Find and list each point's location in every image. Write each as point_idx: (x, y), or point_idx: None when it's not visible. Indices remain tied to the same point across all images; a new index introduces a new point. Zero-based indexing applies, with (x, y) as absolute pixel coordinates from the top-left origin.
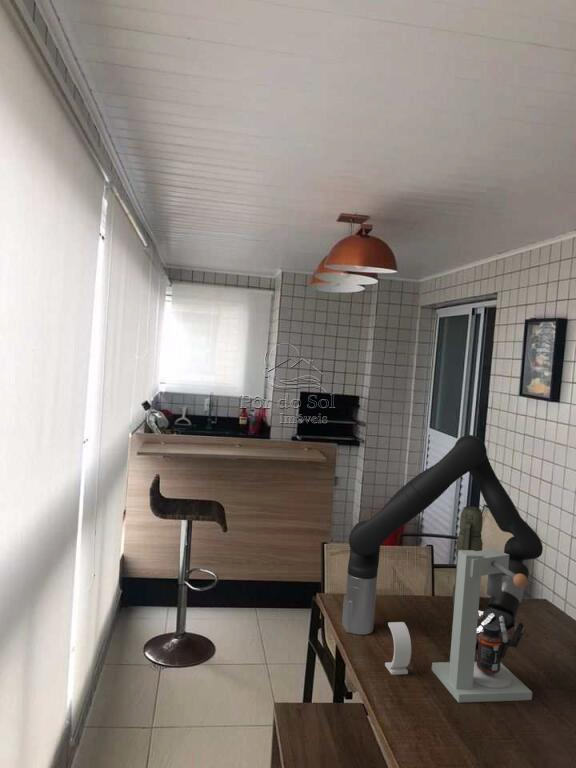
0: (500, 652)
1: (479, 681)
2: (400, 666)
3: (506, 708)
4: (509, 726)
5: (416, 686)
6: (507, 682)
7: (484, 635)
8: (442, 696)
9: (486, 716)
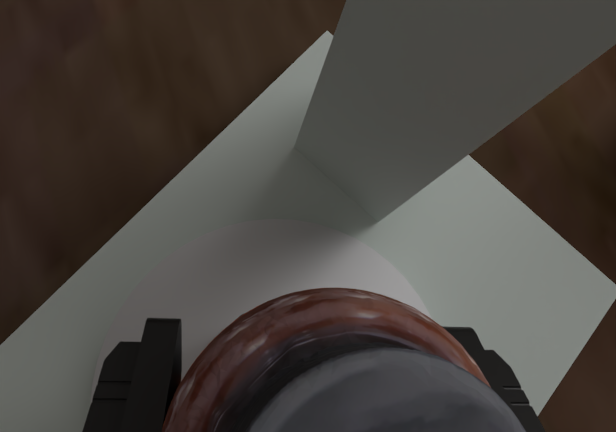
0: (144, 341)
1: (280, 219)
2: None
3: (79, 180)
4: (18, 11)
5: None
6: None
7: (409, 343)
8: None
9: (152, 25)
